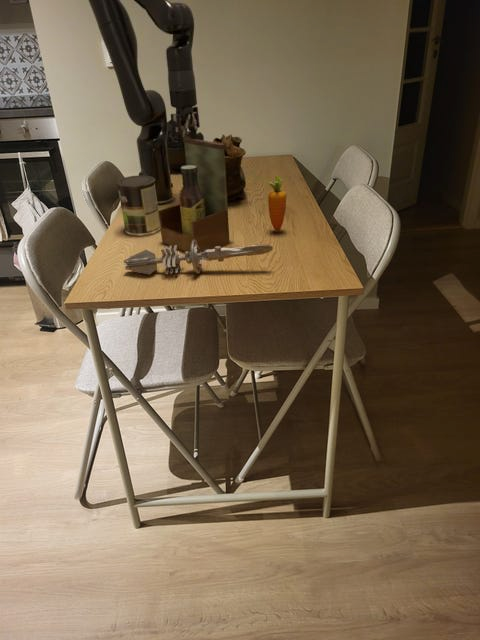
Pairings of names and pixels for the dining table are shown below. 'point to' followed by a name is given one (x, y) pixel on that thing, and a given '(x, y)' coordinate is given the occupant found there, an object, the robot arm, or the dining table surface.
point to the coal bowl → (174, 155)
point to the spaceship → (188, 257)
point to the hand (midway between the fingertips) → (188, 147)
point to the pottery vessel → (233, 166)
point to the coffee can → (139, 205)
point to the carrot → (277, 204)
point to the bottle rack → (215, 200)
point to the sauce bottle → (190, 199)
